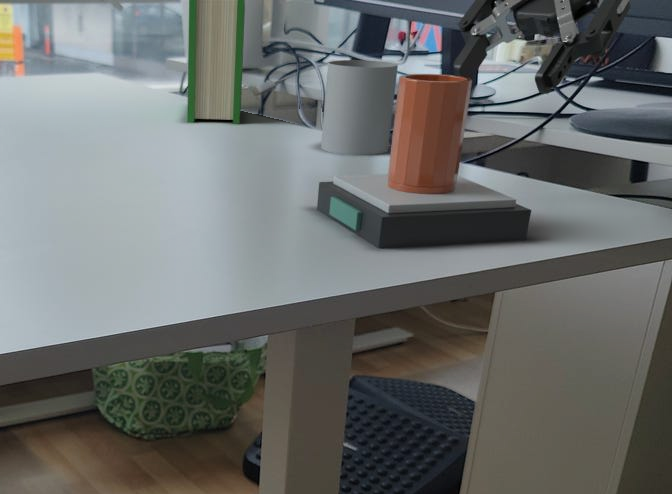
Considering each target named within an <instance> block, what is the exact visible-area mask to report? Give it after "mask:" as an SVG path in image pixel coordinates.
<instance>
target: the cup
mask: <svg viewBox="0 0 672 494" xmlns="http://www.w3.org/2000/svg"><path fill="white" fill-rule="evenodd" d="M397 75H398V64H397V63H393V62H388V61H381V60H379V61H378V60H363V59H362V60H361V59H342V60H341V59H340V60H332V61H328V62H327V71H326V82H325V83H326V84H325V96H324V107H323V119H322V131H321V143H320V144H321V146H320V148H321V150H324V151H327V152H329V153H334V154H340V155H353V156H374V155H381V154H385V153H388V152H389V146H390V137H391V127H392V121H393V120H392V119H393V118H392V117H393V110H394V102H395V95H396V94H395V93H396V86H397V77H398V76H397Z"/></svg>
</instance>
